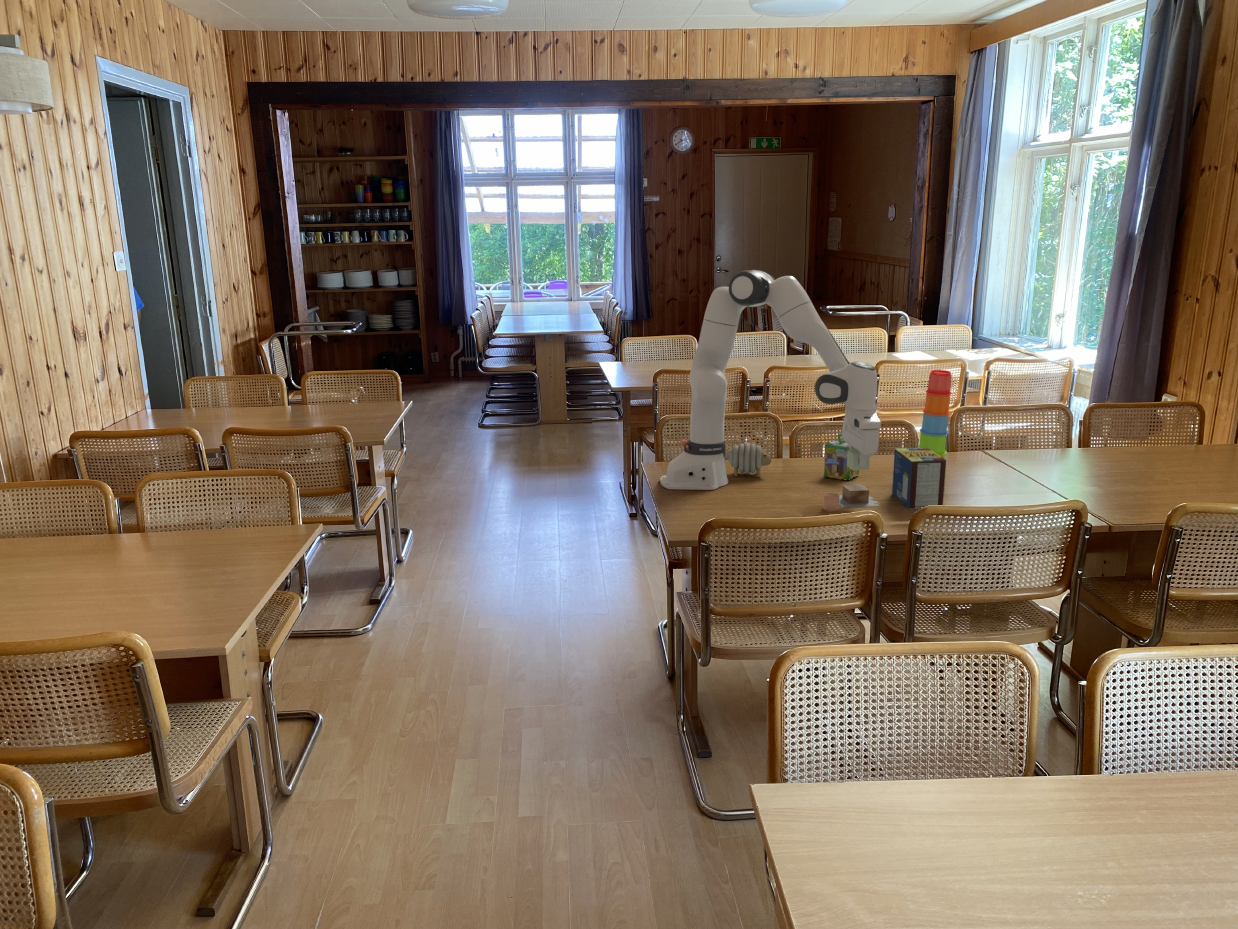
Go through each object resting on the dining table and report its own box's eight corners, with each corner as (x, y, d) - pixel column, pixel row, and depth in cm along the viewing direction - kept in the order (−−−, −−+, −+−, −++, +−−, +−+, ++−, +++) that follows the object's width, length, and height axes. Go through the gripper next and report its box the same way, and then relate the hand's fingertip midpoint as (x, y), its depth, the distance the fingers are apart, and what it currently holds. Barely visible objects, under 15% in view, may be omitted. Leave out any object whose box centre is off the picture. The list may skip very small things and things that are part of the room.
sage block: (852, 470, 268) (853, 454, 267) (846, 465, 273) (847, 450, 272) (868, 469, 269) (869, 453, 267) (862, 465, 273) (863, 449, 272)
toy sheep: (771, 479, 300) (772, 447, 297) (720, 478, 301) (721, 446, 298) (769, 471, 310) (770, 439, 307) (720, 470, 311) (720, 439, 308)
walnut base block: (849, 503, 270) (849, 491, 269) (842, 497, 276) (842, 485, 275) (868, 502, 271) (869, 490, 270) (861, 497, 276) (861, 484, 275)
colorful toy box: (848, 481, 296) (851, 438, 292) (822, 477, 301) (824, 434, 297) (860, 475, 303) (862, 432, 299) (834, 471, 308) (836, 429, 304)
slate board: (842, 509, 267) (842, 507, 267) (829, 498, 279) (829, 495, 278) (881, 508, 268) (881, 505, 268) (866, 496, 280) (867, 493, 280)
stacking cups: (940, 467, 310) (949, 368, 301) (948, 476, 301) (957, 373, 292) (910, 467, 311) (917, 368, 302) (916, 475, 302) (924, 373, 293)
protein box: (924, 495, 280) (927, 447, 276) (943, 510, 265) (947, 459, 261) (890, 496, 280) (894, 447, 276) (907, 511, 265) (911, 460, 261)
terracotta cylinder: (825, 514, 264) (826, 498, 262) (821, 509, 268) (821, 493, 266) (840, 513, 264) (841, 497, 263) (835, 509, 268) (836, 493, 267)
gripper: (837, 410, 276) (836, 454, 280) (862, 425, 257) (860, 471, 260) (857, 409, 277) (855, 453, 281) (883, 424, 257) (881, 470, 261)
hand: (857, 462), depth 270 cm, fingers closed on sage block, 5 cm apart
